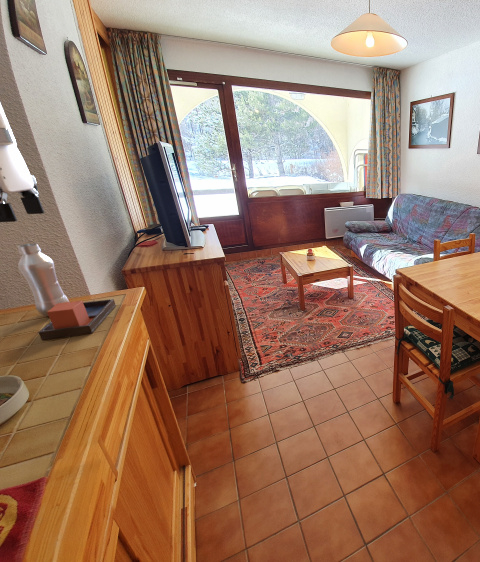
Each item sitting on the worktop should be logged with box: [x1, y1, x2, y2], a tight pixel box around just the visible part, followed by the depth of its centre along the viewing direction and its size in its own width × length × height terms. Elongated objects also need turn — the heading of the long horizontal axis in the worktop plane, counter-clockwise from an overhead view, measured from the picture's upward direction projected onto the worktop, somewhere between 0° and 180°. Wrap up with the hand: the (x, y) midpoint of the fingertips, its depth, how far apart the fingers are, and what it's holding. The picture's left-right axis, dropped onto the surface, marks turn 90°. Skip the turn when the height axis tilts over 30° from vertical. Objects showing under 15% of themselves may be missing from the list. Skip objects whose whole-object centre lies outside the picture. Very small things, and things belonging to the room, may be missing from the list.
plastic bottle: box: [17, 243, 70, 317], centre depth 84 cm, size 6×7×20 cm
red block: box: [47, 300, 90, 329], centre depth 79 cm, size 5×5×6 cm
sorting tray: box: [37, 298, 117, 342], centre depth 83 cm, size 10×16×2 cm, turn 20°
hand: (22, 217), depth 73 cm, fingers open, 9 cm apart
